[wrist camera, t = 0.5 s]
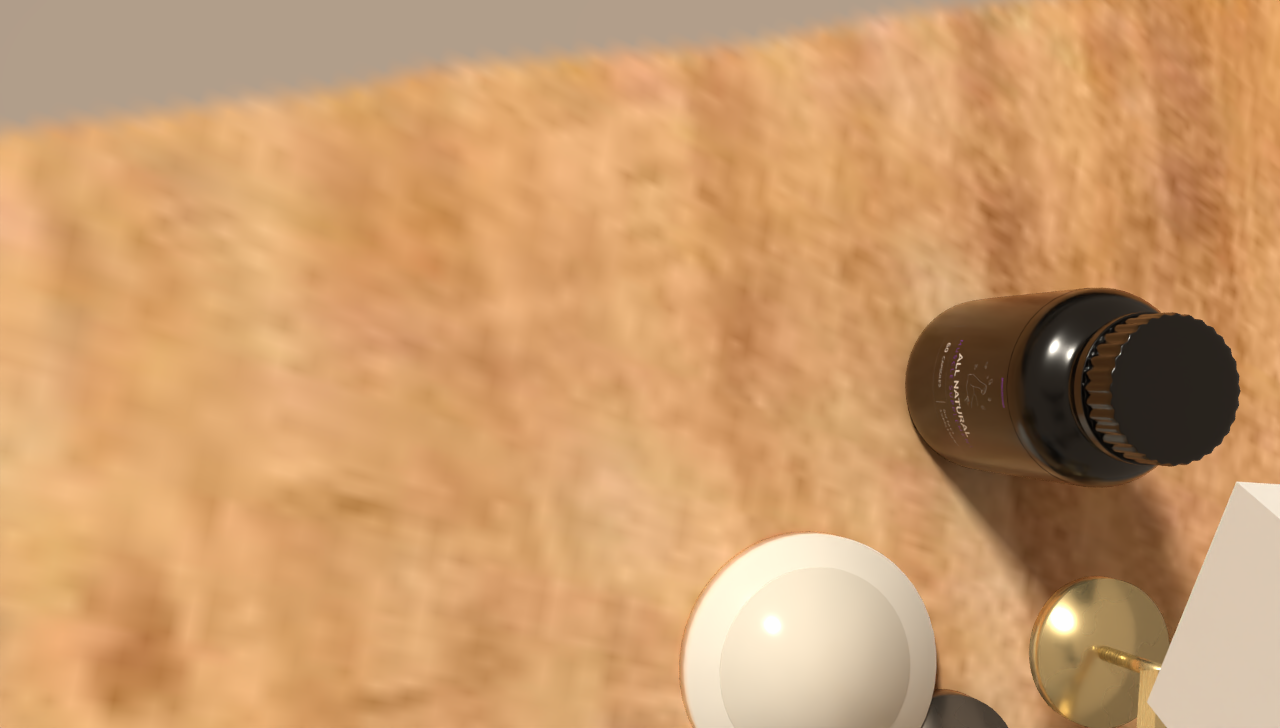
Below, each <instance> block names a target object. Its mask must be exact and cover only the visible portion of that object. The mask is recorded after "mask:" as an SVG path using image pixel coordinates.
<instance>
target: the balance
mask: <svg viewBox="0 0 1280 728" xmlns="http://www.w3.org/2000/svg"><path fill="white" fill-rule="evenodd" d="M1168 649H1169V637H1168V631H1167V628H1166V624H1165V622H1164V619H1163V617H1162V614H1161V613H1160V611H1159V609H1158V607H1157V606H1156V605H1155V603H1154V602H1153V601H1152V599H1151V598H1150V597H1149V596H1148V595H1147V594H1146V593H1144V592H1143V591H1142V590H1141V589H1139V588H1138V587H1136V586H1134V585H1132V584H1130V583H1127V582H1125V581H1121V580H1117V579H1113V578H1108V577H1103V576H1091V577H1084V578H1080V579H1077V580H1075V581H1072V582H1070V583H1068V584H1067V585H1065V586H1063V587H1062V588H1060V589H1059V590H1058V591H1057V592H1055V593H1054V594H1053V595H1052V596H1051V597H1050V598H1049V600H1048V601H1047V602H1046V604H1045V605H1044V606H1043V608H1042V609H1041V611H1040V613H1039V615H1038V617H1037V619H1036V621H1035V624H1034V627H1033V630H1032V634H1031V639H1030V648H1029V660H1030V667H1031V673H1032V676H1033V680H1034V682H1035V685H1036V687H1037V689H1038V691H1039V693H1040V694H1041V696H1042V698H1043V699H1044V700H1045V701H1046V703H1047V704H1048V705H1049V706H1050V707H1051V708H1052V709H1053V710H1054V711H1056V712H1057V713H1058V714H1060V715H1061V716H1063V717H1065V718H1067V719H1069V720H1071V721H1073V722H1075V723H1078V724H1080V725H1083V726H1086V727H1090V728H1114V727H1117V726H1121V725H1123V724H1126V723H1128V722H1130V721H1132V720H1133V719H1135V718H1136V717H1137V728H1167V727H1166V726H1165V725H1164V723H1163V722H1162V721H1161V720H1160V718H1159V717H1158V716H1157V715H1156V713H1155V712H1154V711H1153V709H1152V708H1151V707H1150V706H1149V704H1148V703H1147V700H1148V698H1149V696H1150V693H1151V691H1152V688H1153V686H1154V683H1155V681H1156V678H1157V676H1158V673H1159V671H1160V669H1161V666H1162V664H1163V661H1164V659H1165V656H1166V654H1167V651H1168ZM921 728H1008V727H1007V725H1006V723H1005V722H1004V721H1003V719H1002V718H1001V717H1000V716H999V715H998V714H997V713H996V712H995V711H994V710H993V709H992V708H990V707H989V706H988V705H986V704H984V703H982V702H980V701H979V700H977V699H974V698H972V697H970V696H968V695H966V694H964V693H961V692H958V691H953V690H948V689H936V690H934V691H933V695H932V700H931V703H930V706H929V709H928V712H927V715H926V718H925V720H924V722H923V724H922V726H921Z"/></svg>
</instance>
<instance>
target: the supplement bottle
mask: <svg viewBox="0 0 1280 728" xmlns="http://www.w3.org/2000/svg"><path fill="white" fill-rule="evenodd" d="M1238 383H1239V374H1238V372H1237V370H1236V361H1235V359H1234V358H1233V357H1232V354H1231V349H1230V348H1229V347H1228V346H1227V345H1226V344H1225V342H1224V339H1223V337H1222V336H1220V335H1218V334H1217V333H1216V331H1215V330H1214V328H1213V327H1210V326H1207V325H1206V324H1205V323H1204V322H1203V321H1202V320H1200V319H1194V318H1193V317H1192V316H1190V315H1180V314H1178V313H1161V312H1160V311H1159V310H1158V309H1156V308H1155V307H1154V306H1152V305H1151V304H1150V303H1148V302H1146V301H1145V300H1143V299H1141V298H1140V297H1138V296H1135V295H1133V294H1131V293H1128V292H1125V291H1121V290H1117V289H1110V288H1084V289H1074V290H1064V291H1055V292H1045V293H1035V294H1026V295H1016V296H1006V297H997V298H988V299H981V300H973V301H969V302H965V303H961V304H959V305H956V306H954V307H952V308H949V309H948V310H946V311H944V312H943V313H941V314H940V315H939V316H937V317H936V318H935V319H934V320H933V321H932V322H931V323H930V324H929V325H928V326H927V327H926V328H925V329H924V330H923V332H922V333H921V335H920V336H919V338H918V339H917V341H916V343H915V345H914V347H913V349H912V352H911V355H910V358H909V361H908V365H907V371H906V381H905V389H906V399H907V404H908V409H909V412H910V415H911V418H912V420H913V422H914V424H915V426H916V428H917V430H918V432H919V433H920V435H921V436H922V438H923V439H924V440H925V441H926V443H927V444H928V445H929V446H930V447H931V448H932V449H933V450H934V451H936V452H937V453H938V454H939V455H941V456H942V457H944V458H945V459H947V460H949V461H951V462H953V463H955V464H958V465H960V466H963V467H967V468H971V469H976V470H981V471H987V472H994V473H1000V474H1006V475H1013V476H1019V477H1025V478H1032V479H1038V480H1045V481H1051V482H1057V483H1064V484H1070V485H1077V486H1083V487H1099V488H1103V487H1113V486H1119V485H1122V484H1126V483H1129V482H1132V481H1134V480H1136V479H1138V478H1140V477H1142V476H1144V475H1146V474H1147V473H1149V472H1150V471H1152V470H1153V469H1154V468H1156V467H1157V466H1158V465H1161V466H1176V465H1187V464H1189V463H1191V462H1192V461H1198V460H1200V459H1201V458H1202V457H1203V456H1204V455H1207V454H1210V453H1212V451H1213V449H1214V448H1215V447H1216V446H1218V445H1220V444H1221V443H1222V440H1223V438H1224V436H1226V435H1227V434H1228V433H1229V431H1230V426H1231V424H1232V423H1233V422H1234V420H1235V413H1236V410H1237V408H1238V406H1239V401H1238V397H1239V394H1240V387H1239V384H1238Z"/></svg>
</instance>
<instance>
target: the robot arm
mask: <svg viewBox="0 0 1280 728" xmlns="http://www.w3.org/2000/svg"><path fill="white" fill-rule="evenodd" d="M1147 703H1148V704H1149V706H1150V707H1151V708H1152V709H1153V711H1154V712H1155V713H1156V715H1157V716H1158V717H1159V718H1160V720H1161V721H1162V722H1163V723H1164V725H1165V726H1166V727H1167V728H1280V484H1265V483H1249V482H1236V484H1235V486H1234V489H1233V491H1232V494H1231V496H1230V499H1229V501H1228V504H1227V506H1226V509H1225V511H1224V514H1223V516H1222V518H1221V521H1220V523H1219V526H1218V528H1217V531H1216V533H1215V536H1214V538H1213V541H1212V543H1211V546H1210V548H1209V550H1208V553H1207V555H1206V558H1205V560H1204V563H1203V565H1202V568H1201V570H1200V573H1199V575H1198V577H1197V580H1196V582H1195V585H1194V587H1193V590H1192V592H1191V595H1190V597H1189V600H1188V602H1187V605H1186V607H1185V609H1184V612H1183V614H1182V617H1181V619H1180V622H1179V624H1178V627H1177V629H1176V632H1175V634H1174V637H1173V639H1172V641H1171V644H1170V646H1169V649H1168V651H1167V654H1166V656H1165V659H1164V661H1163V664H1162V666H1161V669H1160V671H1159V673H1158V676H1157V678H1156V681H1155V683H1154V686H1153V688H1152V691H1151V693H1150V696H1149V698H1148V700H1147Z"/></svg>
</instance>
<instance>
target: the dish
mask: <svg viewBox="0 0 1280 728" xmlns="http://www.w3.org/2000/svg"><path fill="white" fill-rule="evenodd" d="M936 668H937V665H936V645H935V638H934V632H933V629H932V625H931V621H930V617H929V615H928V613H927V610H926V608H925V605H924V603H923V601H922V599H921V597H920V595H919V594H918V592H917V590H916V588H915V587H914V586H913V584H912V583H911V582H910V580H909V579H908V578H907V576H906V575H905V574H904V573H903V572H902V571H901V570H900V569H899V568H898V567H897V566H896V565H895V564H894V563H893V562H892V561H890V560H889V559H888V558H886V557H885V556H884V555H883V554H881V553H879V552H878V551H876V550H874V549H872V548H871V547H869V546H867V545H864V544H862V543H859V542H857V541H854V540H851V539H847V538H844V537H840V536H836V535H832V534H828V533H822V532H811V531H806V532H791V533H786V534H781V535H776V536H773V537H771V538H768V539H765V540H762V541H760V542H758V543H756V544H754V545H752V546H750V547H748V548H746V549H745V550H743V551H742V552H740V553H739V554H737V555H736V556H734V557H733V558H732V559H730V560H729V561H728V562H727V563H726V564H725V565H724V566H723V567H721V568H720V569H719V571H718V572H717V573H716V574H715V575H714V576H713V577H712V578H711V580H710V581H709V582H708V583H707V585H706V586H705V588H704V589H703V591H702V592H701V594H700V595H699V597H698V599H697V601H696V603H695V605H694V607H693V609H692V611H691V613H690V616H689V618H688V621H687V624H686V627H685V630H684V634H683V639H682V643H681V650H680V659H679V680H680V687H681V694H682V699H683V703H684V706H685V710H686V713H687V716H688V718H689V721H690V723H691V725H692V728H921V726H922V724H923V722H924V720H925V718H926V715H927V712H928V709H929V706H930V703H931V700H932V695H933V691H934V686H935V678H936Z"/></svg>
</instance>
